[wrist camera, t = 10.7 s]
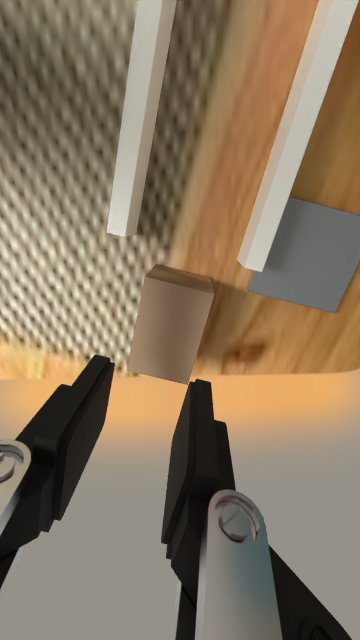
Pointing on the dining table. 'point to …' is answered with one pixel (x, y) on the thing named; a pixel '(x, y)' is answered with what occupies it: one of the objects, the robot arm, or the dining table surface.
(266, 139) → the dining table surface
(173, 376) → the block
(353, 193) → the dining table surface
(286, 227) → the coaster
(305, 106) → the frame
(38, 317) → the dining table surface
